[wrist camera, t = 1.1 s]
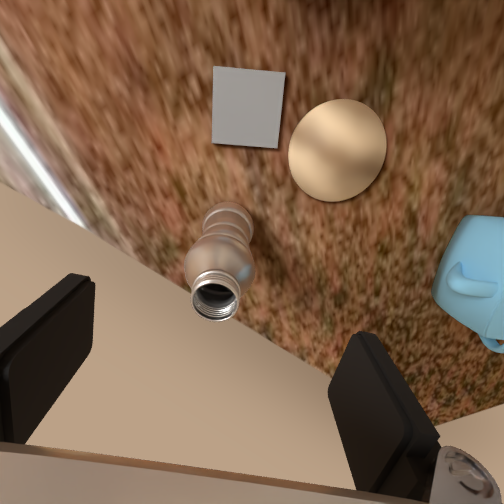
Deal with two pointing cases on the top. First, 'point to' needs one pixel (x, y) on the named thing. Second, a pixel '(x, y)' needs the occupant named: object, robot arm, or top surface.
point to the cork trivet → (337, 150)
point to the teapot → (475, 278)
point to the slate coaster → (246, 106)
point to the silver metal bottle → (221, 262)
